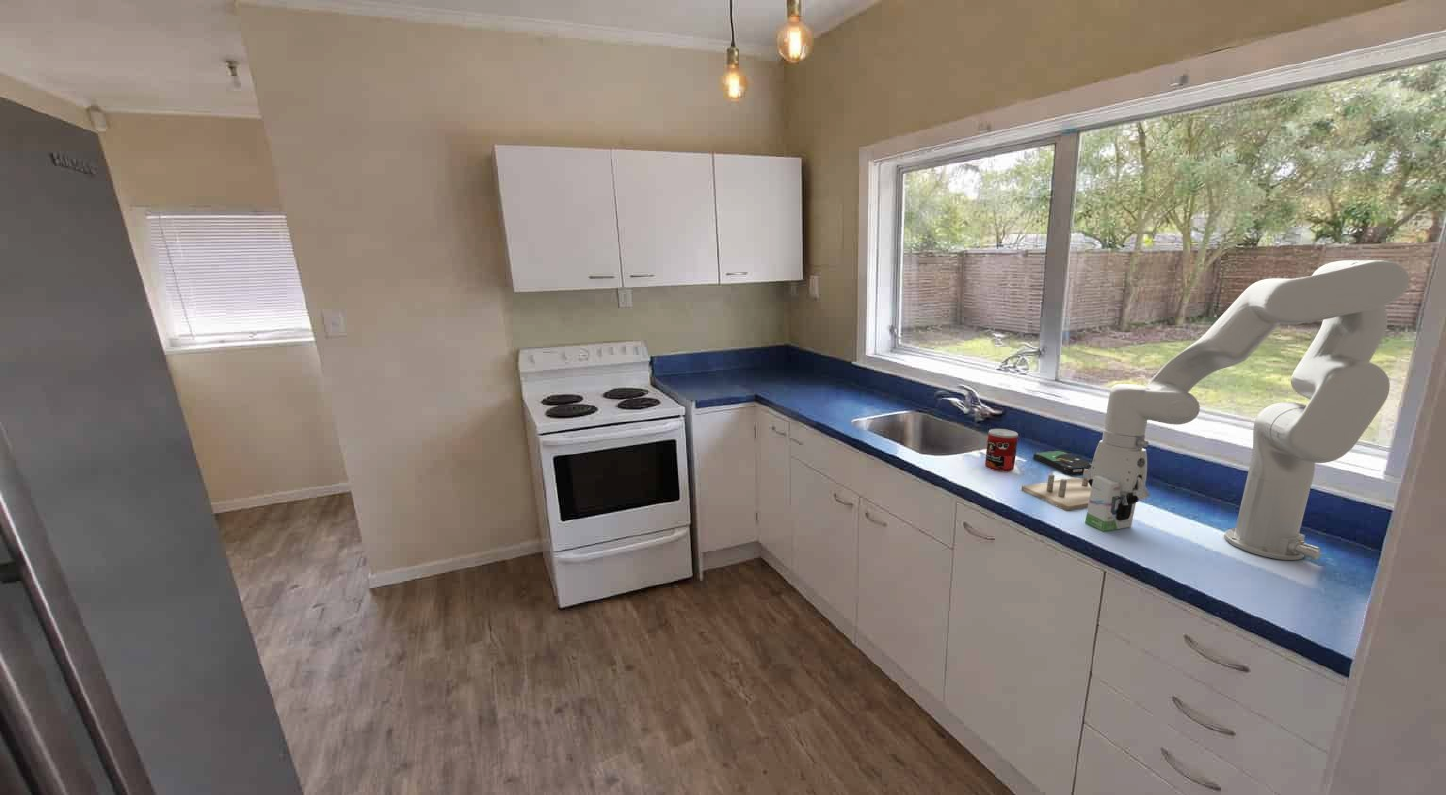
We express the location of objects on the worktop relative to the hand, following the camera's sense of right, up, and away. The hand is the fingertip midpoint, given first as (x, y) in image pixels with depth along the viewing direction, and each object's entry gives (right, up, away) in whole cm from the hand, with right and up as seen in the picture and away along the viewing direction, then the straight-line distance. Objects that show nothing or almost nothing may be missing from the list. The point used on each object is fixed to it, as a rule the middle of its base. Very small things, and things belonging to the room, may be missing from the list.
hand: (1110, 513), depth 130 cm
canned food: (-7, +6, +39) cm, 40 cm away
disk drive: (+14, +6, +40) cm, 43 cm away
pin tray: (+3, +1, +18) cm, 18 cm away
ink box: (0, -3, +1) cm, 3 cm away
